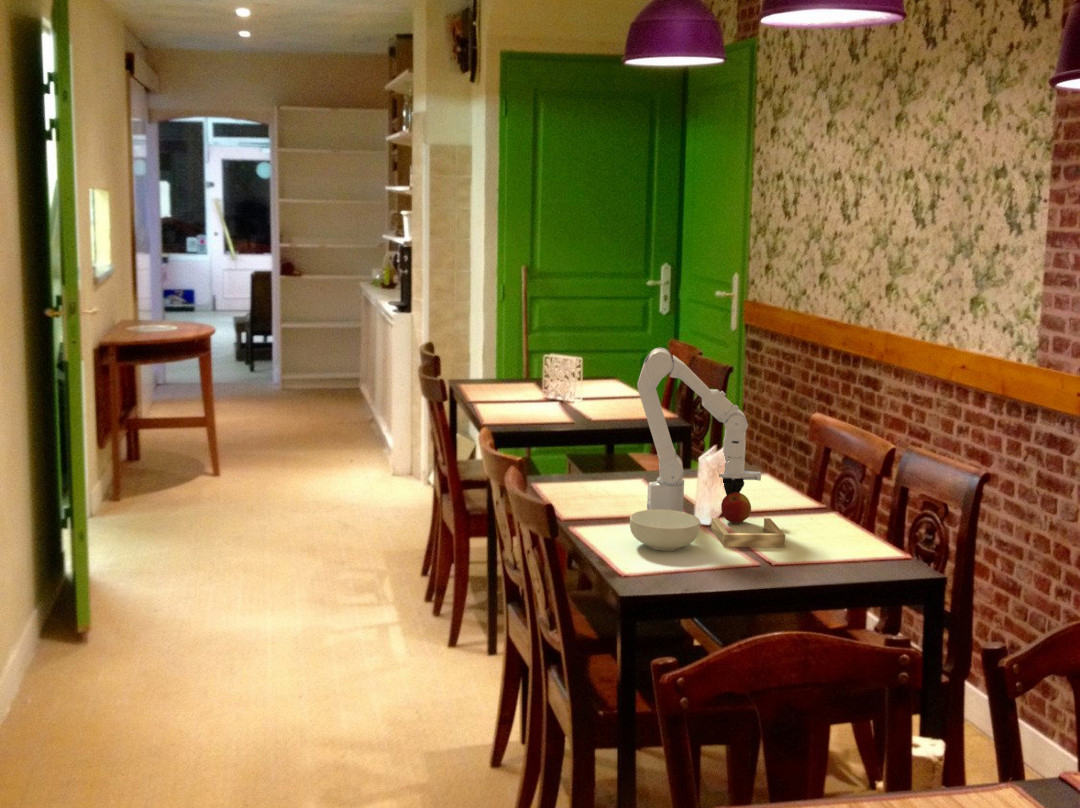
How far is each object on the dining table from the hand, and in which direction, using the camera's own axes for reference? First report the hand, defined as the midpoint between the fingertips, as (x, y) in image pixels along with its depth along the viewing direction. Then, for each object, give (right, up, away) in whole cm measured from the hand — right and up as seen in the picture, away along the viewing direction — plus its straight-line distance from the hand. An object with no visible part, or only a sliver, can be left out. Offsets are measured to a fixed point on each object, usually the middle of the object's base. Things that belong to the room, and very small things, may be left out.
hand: (731, 506), depth 334 cm
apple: (0, -4, -5) cm, 6 cm away
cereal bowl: (-20, -8, -27) cm, 35 cm away
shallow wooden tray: (+1, -6, -18) cm, 19 cm away
